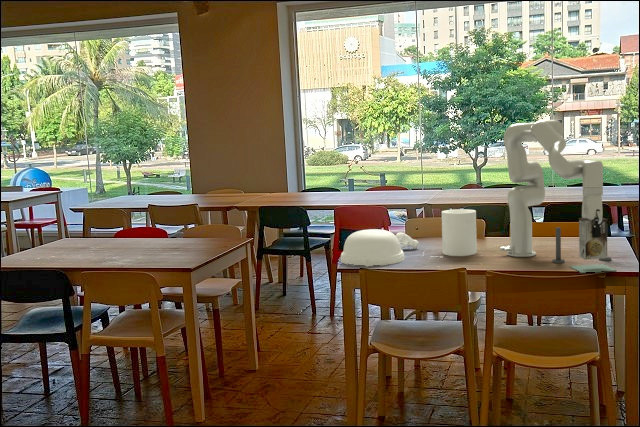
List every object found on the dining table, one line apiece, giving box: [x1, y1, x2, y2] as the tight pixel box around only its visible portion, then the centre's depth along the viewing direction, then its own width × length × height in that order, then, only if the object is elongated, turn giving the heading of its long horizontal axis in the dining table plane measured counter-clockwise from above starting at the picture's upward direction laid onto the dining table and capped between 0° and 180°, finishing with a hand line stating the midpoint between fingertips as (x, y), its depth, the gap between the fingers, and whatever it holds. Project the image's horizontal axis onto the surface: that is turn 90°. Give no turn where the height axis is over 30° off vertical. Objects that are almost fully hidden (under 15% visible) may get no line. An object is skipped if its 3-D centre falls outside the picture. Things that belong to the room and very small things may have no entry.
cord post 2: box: [598, 256, 612, 262], centre depth 293 cm, size 5×5×15 cm
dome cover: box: [340, 228, 405, 267], centre depth 320 cm, size 32×30×14 cm
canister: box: [441, 208, 478, 257], centre depth 325 cm, size 16×16×20 cm
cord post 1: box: [551, 226, 566, 264], centre depth 293 cm, size 5×5×15 cm
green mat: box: [569, 263, 617, 274], centre depth 277 cm, size 14×12×1 cm
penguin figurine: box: [395, 232, 420, 251], centre depth 341 cm, size 6×8×12 cm
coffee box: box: [578, 217, 608, 260], centre depth 276 cm, size 9×6×16 cm
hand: (592, 235), depth 275 cm, fingers closed on coffee box, 6 cm apart
